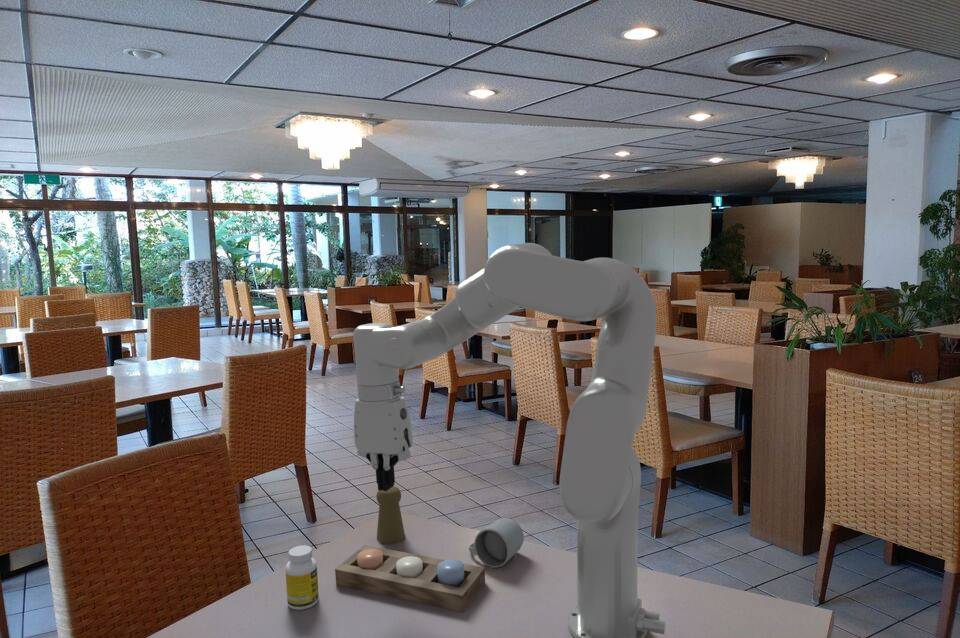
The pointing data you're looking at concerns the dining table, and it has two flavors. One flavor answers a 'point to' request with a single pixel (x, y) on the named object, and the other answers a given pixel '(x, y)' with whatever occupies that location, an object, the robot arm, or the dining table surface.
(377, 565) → the pink rounded dome
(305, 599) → the supplement bottle
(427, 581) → the wooden compartment tray
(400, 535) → the olive game pawn
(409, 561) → the cream button
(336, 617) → the dining table surface
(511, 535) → the ceramic mug
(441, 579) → the blue rounded knob
